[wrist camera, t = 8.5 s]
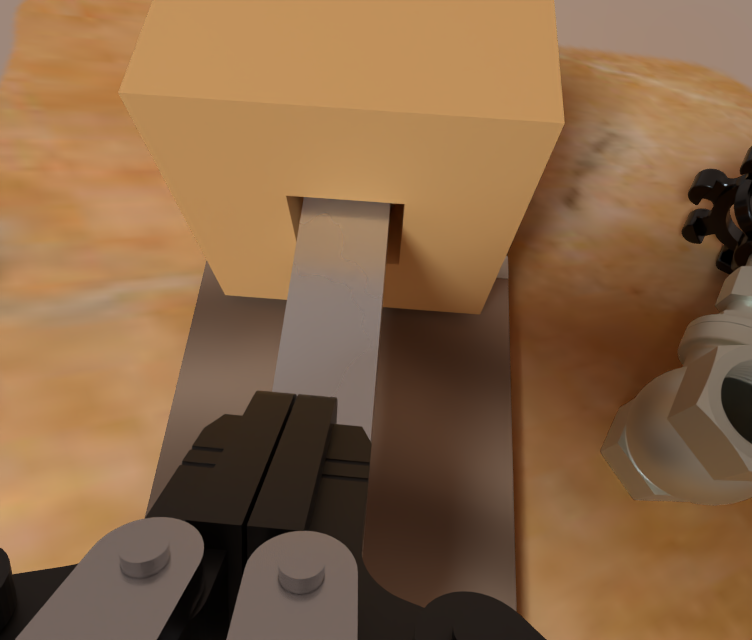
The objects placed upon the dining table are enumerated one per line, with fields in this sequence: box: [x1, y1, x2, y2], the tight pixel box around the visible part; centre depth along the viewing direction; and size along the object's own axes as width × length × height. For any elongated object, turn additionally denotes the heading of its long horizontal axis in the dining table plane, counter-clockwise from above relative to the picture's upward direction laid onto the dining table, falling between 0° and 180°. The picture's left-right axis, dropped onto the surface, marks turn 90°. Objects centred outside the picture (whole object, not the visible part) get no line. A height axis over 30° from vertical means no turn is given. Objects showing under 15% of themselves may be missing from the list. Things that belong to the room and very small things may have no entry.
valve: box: [600, 146, 752, 505], centre depth 18 cm, size 7×7×12 cm
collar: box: [118, 0, 565, 314], centre depth 17 cm, size 5×10×10 cm, turn 86°
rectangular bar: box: [272, 197, 394, 557], centre depth 17 cm, size 24×4×7 cm, turn 176°
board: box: [145, 255, 517, 612], centre depth 21 cm, size 26×12×1 cm, turn 176°
